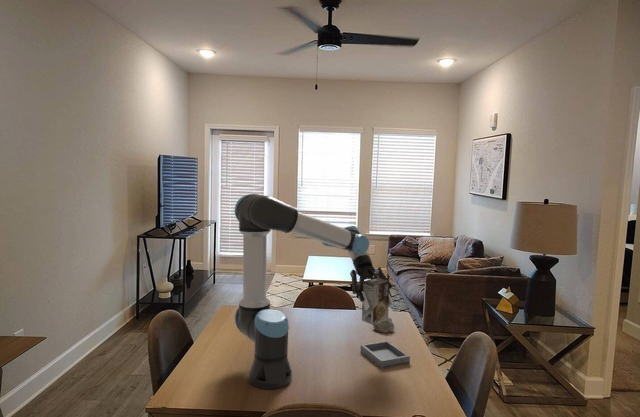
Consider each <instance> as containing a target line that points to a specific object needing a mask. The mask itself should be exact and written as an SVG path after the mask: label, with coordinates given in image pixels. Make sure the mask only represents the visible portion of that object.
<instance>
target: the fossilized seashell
mask: <svg viewBox="0 0 640 417" xmlns="http://www.w3.org/2000/svg"><path fill="white" fill-rule="evenodd" d="M372 326H373V328H374V330H376V331H377V332H380V333H383V334H389V333H391V332H393V331H394V330H395V324H394V323H393V319H392V318H391V317H388V320H386V321H383V322H380V323H377V324H375V325H372Z"/></svg>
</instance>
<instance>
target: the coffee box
mask: <svg viewBox="0 0 640 417" xmlns="http://www.w3.org/2000/svg"><path fill="white" fill-rule="evenodd" d="M389 282H390V280H388V281H386V280H384V279H381V278H375V279H366V280H364V281H363V289H362V292H365V295H366V298H367V300H368V303H369V306H370V307H369V308H368V310H365V307H364V305H363V302H361V303H362V306H361V308H362V310H361V321H362V322H365V323H367V324H369V325H372V326H373V325H375V324H377V323H380V322H383V321H386V320H388V318H389V306H388V305H389Z"/></svg>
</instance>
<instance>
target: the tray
mask: <svg viewBox="0 0 640 417" xmlns="http://www.w3.org/2000/svg"><path fill="white" fill-rule="evenodd" d="M360 353H362V355H364V356H365V357H366V358H368V360H370V362H372V363H374V364H375V365H376V366H377V367H378V368H380V369H381V370H382V369H387V368H394V367H397V366H398V367H399V366H404V365H409V364H410V362H411V361H410V357H411V356H410V355H409V354H408V353H406V352H405V351H403V350H402V349H401V348H399V347H397V346H396V345H395V344H393V343H392V342H390V341H389V340H383V341H377V342H376V341H375V342H371V343H365V344H360Z"/></svg>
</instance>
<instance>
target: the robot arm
mask: <svg viewBox="0 0 640 417" xmlns="http://www.w3.org/2000/svg"><path fill="white" fill-rule="evenodd" d="M234 216H235V217H236V220H237V221H238V228H239V229H238V231H239V232H240V233H241V234H242V236H243V241H242V242H243V243H242V246H243V250H242V251H243V253H242V255H243V256H242V259H243V263H242V266H243V267H242V268H243V269H242V271H243V273H242V274H243V275H242V277H243V279H242V281H243V282H242V291H243V292H242V299H240V300H239V302H238V308H237V309H236V310H235V313H234V324H235V326H236V328H237V329H238V331H239V332H240V333H241V334H243V335H244V336H246V337H247V338H248V339H250V340H251V341H252V342H253V343H254V358H253V361H252V363H251V366H250V370H249V371H248V372H249V373H248V381H249V383H250V384H251V386H253V387H255V388H258V389H262V390H276V389H281V388H283V387H286V386H287V385H289V384H290V383H291V382H292V379H293V377H292V376H293V370H292V368H291V365H290V361H289V358H288V352H289V351H288V349H289V348H288V346H289V344H288V343H289V330H290V329H289V328H290V327H289V318H288V316H287V314H285V313H284V312H282V311H281V310H275V309H272V308H271V301H270V300H269V299H268V297H267V250H268V249H267V247H268V246H267V236H268V234H269V233H270V232H271V231H277V232H281V233H285V234H289V233H294V234H297V235H301V236H303V237H306V238H309V239H312V240H314V241H319V242H321V244H322V245H324V246H326V247H329V248H330V247H332V248H337V249H340V250H344V251H348V254H349V256H350V259H351V260H352V264H353V267H354V269H352V270H351V271H350V272H349V274H350V278H351V287H352V288H351V289H352V294H353V295H356V296H357V297H358V298H359V301H360V302H361V303H362V302H363V305H364V307H365V310H368V308H369V307H370V306H369V303H368V300H367V298H366V295H365V292H363V281H367V280H371V279H375V278H381V279H384V280H386V281H389V279H388V278H387V276H386V275H385V274H384V272H383V271H382V268H381V267H378V268H375V267H374V266H373V261H372V260H371V256H370V254H369V252H368V250H369V247H370V240H369V238H368V237H367V236H366V235H364V234H362V233H361V232H360V230H359V228H358V227H357V226H356V225H351V226H346V227H344V228H343V227H340V226H338V225H336V224H332V223H329V222H327V221H324V220H321V219H319V218H316V217H313V216H310V215H308V214H306V213H302V212H299V210H298V208H296V207H295V206H292V205H290V204H288V203H285V202H283V201H281V200H280V199H277V198H275V197H273V196H269V195H264V194H263V195H262V194H258V193H249V194H245V195H243V196H241V197H240V198H239V199H237V202H236V203H235V206H234ZM358 276H359V279H358ZM358 280H359V281H358ZM392 287H393V284H392V283H391V282H390V281H389V305H388V308H391V307H392V306H393V305H394V301H393V299H392V296H393V295H392V294H391V291H390V290H391V289H392Z"/></svg>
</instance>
